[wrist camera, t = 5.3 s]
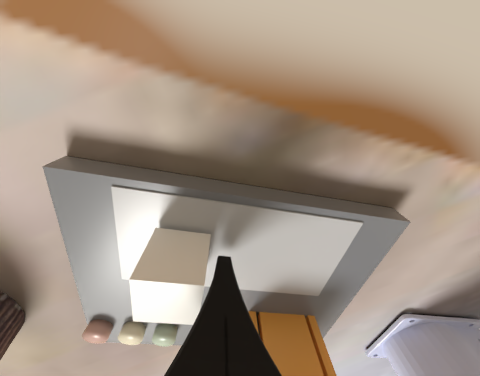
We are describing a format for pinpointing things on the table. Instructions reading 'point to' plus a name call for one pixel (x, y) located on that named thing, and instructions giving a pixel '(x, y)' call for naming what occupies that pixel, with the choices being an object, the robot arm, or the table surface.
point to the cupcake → (9, 321)
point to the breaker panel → (212, 243)
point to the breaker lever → (170, 277)
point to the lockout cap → (294, 344)
